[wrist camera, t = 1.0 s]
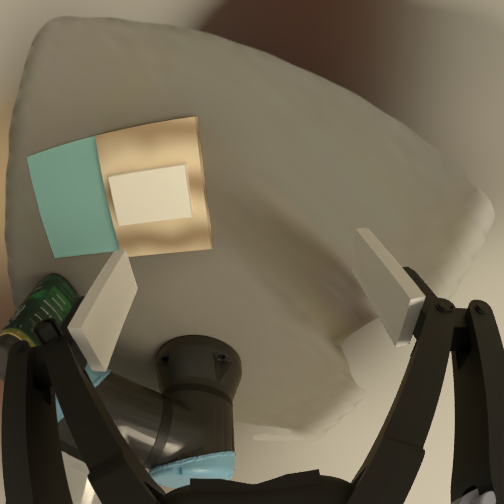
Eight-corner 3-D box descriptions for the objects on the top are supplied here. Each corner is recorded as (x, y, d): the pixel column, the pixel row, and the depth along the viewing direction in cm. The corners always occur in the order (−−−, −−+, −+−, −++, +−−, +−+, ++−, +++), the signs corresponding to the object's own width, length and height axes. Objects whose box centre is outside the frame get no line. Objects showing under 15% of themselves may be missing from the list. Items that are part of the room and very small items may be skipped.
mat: (125, 248, 39) (124, 250, 38) (55, 256, 38) (54, 258, 38) (101, 134, 31) (100, 134, 31) (28, 156, 31) (26, 156, 30)
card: (193, 212, 34) (191, 217, 33) (123, 220, 34) (119, 225, 33) (186, 162, 31) (184, 165, 30) (113, 174, 31) (108, 177, 30)
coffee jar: (58, 264, 39) (-2, 346, 23) (88, 302, 42) (44, 390, 26) (30, 287, 41) (-23, 361, 24) (57, 320, 44) (15, 398, 28)
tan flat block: (212, 240, 39) (211, 248, 37) (127, 248, 39) (122, 257, 36) (197, 115, 31) (194, 116, 29) (103, 133, 31) (95, 136, 29)
